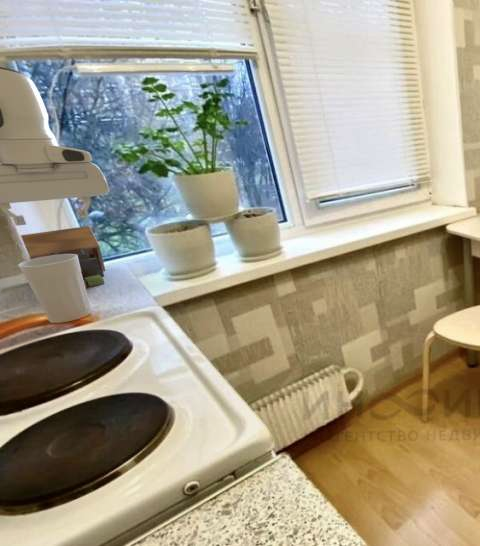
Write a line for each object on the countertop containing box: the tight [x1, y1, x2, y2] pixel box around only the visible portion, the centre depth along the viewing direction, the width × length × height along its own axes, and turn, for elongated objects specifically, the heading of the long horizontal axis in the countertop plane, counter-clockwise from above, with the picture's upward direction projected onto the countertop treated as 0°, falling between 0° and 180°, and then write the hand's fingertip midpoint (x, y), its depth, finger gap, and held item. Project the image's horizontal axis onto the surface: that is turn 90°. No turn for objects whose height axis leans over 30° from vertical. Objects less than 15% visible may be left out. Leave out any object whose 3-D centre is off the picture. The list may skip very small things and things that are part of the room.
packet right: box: [84, 275, 105, 288], centre depth 103 cm, size 3×5×1 cm, turn 51°
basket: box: [20, 225, 106, 273], centre depth 97 cm, size 11×10×10 cm
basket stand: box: [28, 256, 105, 281], centre depth 105 cm, size 11×10×6 cm
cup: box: [17, 254, 93, 324], centre depth 83 cm, size 8×8×12 cm
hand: (53, 221), depth 90 cm, fingers open, 8 cm apart
